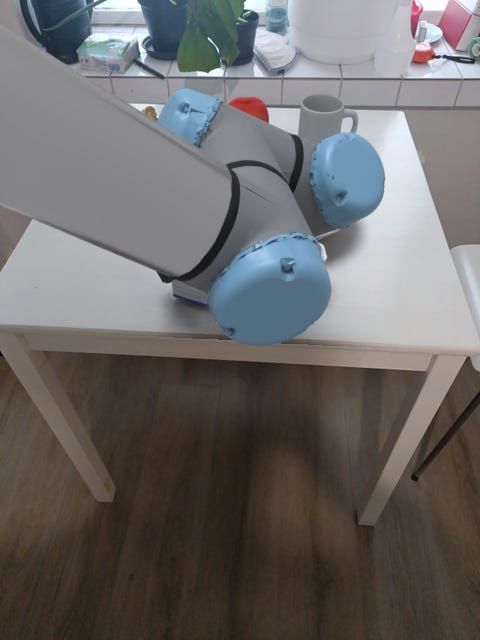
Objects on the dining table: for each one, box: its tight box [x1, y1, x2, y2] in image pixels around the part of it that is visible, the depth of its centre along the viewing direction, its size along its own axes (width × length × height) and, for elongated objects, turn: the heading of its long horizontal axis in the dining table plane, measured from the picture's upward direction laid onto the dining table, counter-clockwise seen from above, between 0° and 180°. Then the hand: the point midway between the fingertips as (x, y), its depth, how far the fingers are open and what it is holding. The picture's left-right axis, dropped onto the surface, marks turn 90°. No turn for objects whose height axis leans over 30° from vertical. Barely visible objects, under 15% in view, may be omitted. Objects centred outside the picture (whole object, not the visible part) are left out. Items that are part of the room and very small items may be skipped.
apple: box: [228, 96, 270, 124], centre depth 102 cm, size 10×10×10 cm
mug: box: [297, 93, 359, 143], centre depth 99 cm, size 12×8×11 cm
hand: (181, 261), depth 74 cm, fingers closed on supplement box, 7 cm apart
